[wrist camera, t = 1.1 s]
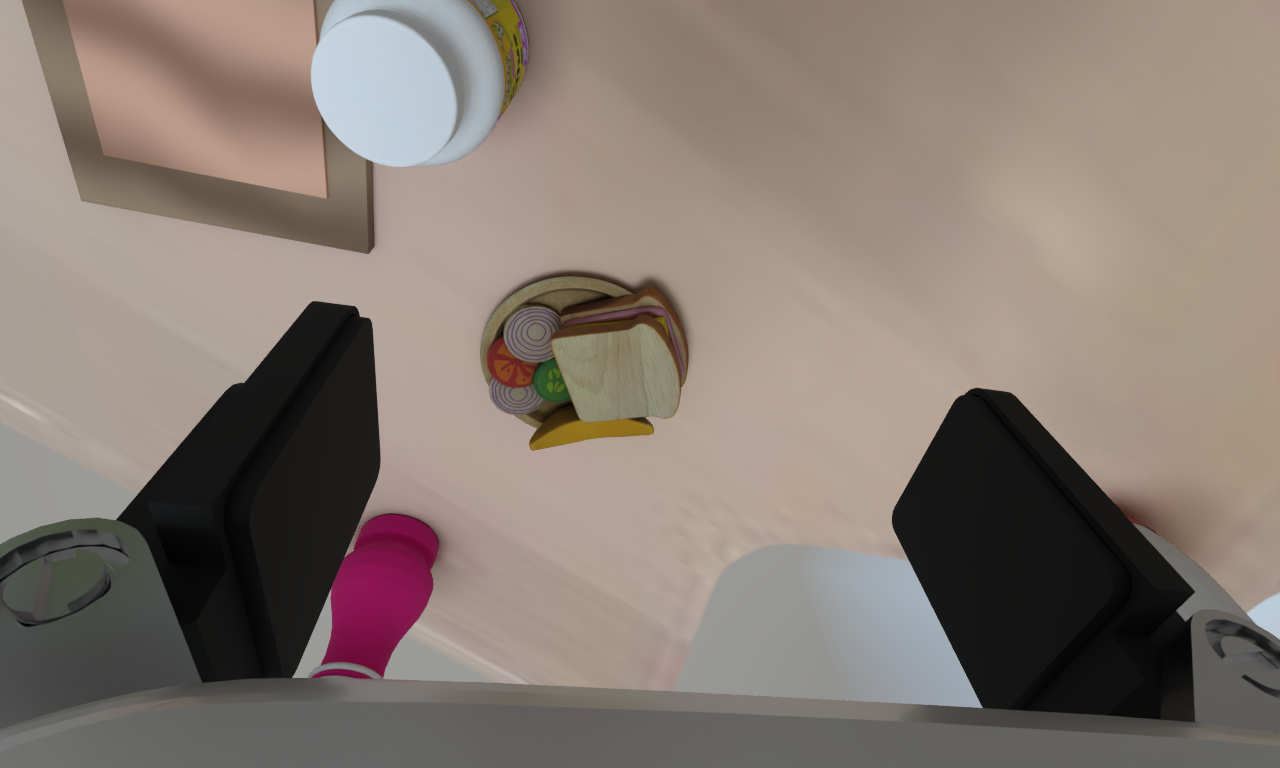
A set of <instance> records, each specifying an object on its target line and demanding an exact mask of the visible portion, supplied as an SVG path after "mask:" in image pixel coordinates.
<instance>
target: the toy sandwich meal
mask: <svg viewBox="0 0 1280 768" xmlns="http://www.w3.org/2000/svg"><path fill="white" fill-rule="evenodd" d="M480 357H481V365H482V370H483V373H484V376H485V379H486V382H487V384H488V386H489V393H490V398H491V400H492V402H493V403H494V405H495V406H496V407H497V408H498V409H499V410H501V411H502V412H505V413H507V414H511V415H514V416H516V417H517V418H519V419H520V420H522V421H523V422H525V423H527V424H529V425H531V426H533V427H535V428H538V429H537V430H536V432H535V433H534V435H533V436H532V438H531V440H530V442H529V446H530V448H531V450H539V449H544V448H549V447H554V446H559V445H565V444H570V443H574V442H579V441H583V440H588V439H594V438H603V437H625V436H639V435H651V434H653V433H654V428H653V425H652V424H651V423H650V422H649V421H648V420H647V419H646V418H645V417H648V416H656V417H659V418H664V419H666V418H670V417H672V416H673V415H674V414H675V413H676V411H677V408H678V405H679V401H680V394H681V387H682V386H683V384H684V383H685V379H686V375H687V370H688V345H687V340H686V336H685V333H684V330H683V327H682V325H681V323H680V320H679V318H678V316H677V314H676V312H675V311H674V309H673V307H672V306H671V304H670V303H669V302H668V300H667V299H666V298H665V297H664V296H663V295H662V294H661V293H660V292H659V291H658V290H656V289H654V288H652V287H646V288H644V289H643V290H641V291H640V292H639V293H637V294H632V293H631V292H629V291H627V290H626V289H624V288H621V287H619V286H617V285H615V284H612V283H609V282H606V281H603V280H599V279H594V278H587V277H577V276H568V277H557V278H550V279H546V280H542V281H539V282H536V283H534V284H531V285H529V286H527V287H524V288H523V289H521V290H519V291H517V292H516V293H514V294H513V295H511V296H510V297H509V298H507V299H506V300H505V301H504V302H503V303H502V304H501V305H500V306H499V307H498V308H497V309H496V310H495V312H494V313H493V315H492V316H491V318H490V319H489V321H488V323H487V325H486V328H485V330H484V333H483V336H482V341H481V349H480Z"/></svg>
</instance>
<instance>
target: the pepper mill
mask: <svg viewBox="0 0 1280 768" xmlns="http://www.w3.org/2000/svg"><path fill="white" fill-rule="evenodd" d="M437 551H438V540H437V537H436V535H435V533H434V532H433V531H432V530H431V529H430V528H429V527H428V526H427V525H426V524H424V523H422V522H420V521H418V520H417V519H415V518H411V517H408V516H404V515H395V514H391V515H382V516H379V517H375V518H373V519H371V520H370V521H368V522H367V523H366V524H365V525H364V526H363V528H362V529H361V532H360V534H359V536H358V539H357V541H356V543H355V546H354V551H353V552H351V553H350V554H348V555H347V556H346V557H345V558H344V559H343V561H342V564H341V566H340V568H339V571H338V573H337V575H336V578H335V580H334V583H333V585H332V589H331V609H332V631H331V638H330V642H329V645H328V648H327V652H326V655H325V657H324V659H323V661H322V663H321V666H319V667H317V668H315V669H314V670H313V671H312V672H311V673H310V674H309V676H308V678H356V679H383V676H384V672H385V668H386V666H387V663H388V661H389V659H390V657H391V654H392V652H393V651H394V649H395V647H396V646H397V644H398V643H399V641H400V640H401V639H402V637H403V636H404V635H405V634H406V633H407V631H408V630H409V629H410V628H411V627H412V626H413V624H414V623H415V622H416V621H417V620H418V619H419V617H420V615H421V614H422V612H423V611H424V609H425V607H426V606H427V603H428V601H429V598H430V596H431V593H432V590H433V578H432V574H431V571H430V569H431V568H432V566H433V564H434V561H435V558H436V554H437Z"/></svg>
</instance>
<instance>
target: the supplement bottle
mask: <svg viewBox="0 0 1280 768" xmlns="http://www.w3.org/2000/svg"><path fill="white" fill-rule="evenodd" d="M528 53H529V48H528V37H527V32H526V28H525V25H524V21H523V19H522V16H521V14H520V11H519V9H518V8H517V6H516V4H515V2H514V1H513V0H334V2H333V3H332V5H331V6H330V8H329V10H328V12H327V14H326V16H325V19H324V22H323V25H322V28H321V34H320V40H319V43H318V45H317V47H316V49H315V52H314V54H313V59H312V65H311V84H312V91H313V95H314V99H315V102H316V105H317V107H318V110H319V112H320V113H321V115H322V117H323V119H324V121H325V122H326V124H327V125H328V127H329V128H330V130H331V131H332V132H333V133H334V134H335V135H336V137H337V138H338V139H339V140H340V141H341V142H342V143H343V144H345V145H346V146H347V147H348V148H349V149H351V150H352V151H353V152H355V153H356V154H358V155H360V156H361V157H363V158H366V159H368V160H370V161H372V162H375V163H378V164H382V165H386V166H392V167H409V166H415V165H421V166H435V165H442V164H447V163H450V162H453V161H456V160H459V159H461V158H463V157H465V156H466V155H468V154H469V153H471V152H472V151H474V150H475V149H476V148H477V147H478V146H480V145H481V143H482V142H483V141H484V140H485V139H486V138H487V136H488V135H489V133H490V132H491V131H492V129H493V127H494V126H495V124H496V123H497V121H498V120H499V118H500V117H501V115H502V114H503V113H504V111H505V110H506V108H507V107H508V105H509V103H510V102H511V100H512V99H513V97H514V95H515V94H516V92H517V91H518V89H519V87H520V85H521V83H522V81H523V78H524V76H525V73H526V69H527V63H528Z"/></svg>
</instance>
